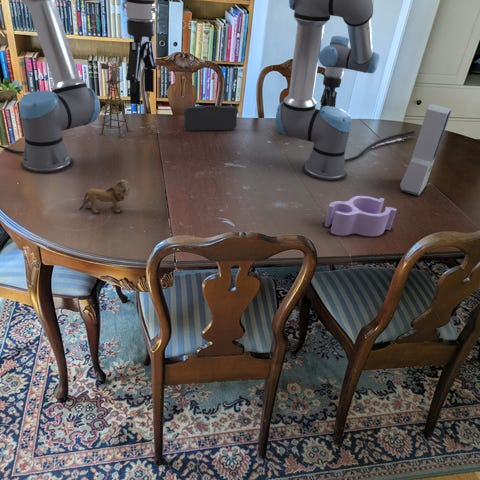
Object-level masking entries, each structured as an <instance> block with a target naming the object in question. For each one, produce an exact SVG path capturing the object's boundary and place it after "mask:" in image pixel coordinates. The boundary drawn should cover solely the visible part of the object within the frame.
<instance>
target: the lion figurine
mask: <svg viewBox="0 0 480 480" xmlns="http://www.w3.org/2000/svg"><path fill="white" fill-rule="evenodd" d="M130 187H131V186H130V181H128V180H125V179H119V180H118V181H116V183H115V184H113V185H112V186H110V187H109V188H108V189H99V188H94V187H93V188H90V189H88V190H86V191H85V193H84V196H83V201H82V205H81V206H80V207H79V209H78V210H79V211H82V210H83V209H84V208H86V209H89V208H91V210H92V212H93V213H95V214H97V213H99V210H98V209H96V208H95V205H96V203H97V200H98V201H100V202H102V203H112V204H111V206H112V208H114V212H116V213H120V211H121V210H120V209H119V202H123V201H124V200H125V199H126V197H127V196H128V195H129V194H130V191H131V189H130ZM89 203H90V205H89Z"/></svg>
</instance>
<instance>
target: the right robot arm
mask: <svg viewBox="0 0 480 480" xmlns="http://www.w3.org/2000/svg"><path fill="white" fill-rule="evenodd" d="M288 6H289V8H290V9H291V10H292V11H294V13H293V18H294V19H295V21H296V22H297V26H296V34H295V42H294V49H293V57H292V65H291V66H292V67H291V74H290V80H289V81H290V82H289V90H288V94H287V95H286V97H284V98H283V101H281V102H280V103H279V104H278V106H277V108H276V113H275V124H276V125H275V126H276V129H277V131H278V133H279V134H281V135H284V136H287V137H288V138H295V139H298V140H302V141H306V142H309V143H313V146H312V151H311V152H310V155H309V157H308V159H307V160H306V161H305V163H304V169H303V170H304V172H305V173H306V174H307V175H309V176H310V177H312V178H315V179H317V180H322V181H339V180H342V179H343V178H344V177H345V176H346V170H347V168H346V162H351V161H353V160H356V159H359V158H360V157H361V156H362V155H363V154H364V153H365V152H367V151H368V150H370V149H371V148H372V147H373V146H374V145H377V144H380V143H382V142H383V141H384V142H385V141H387V140H389V139H393V138H396V137H400V136H403V135H404V136H405V135H408V134H412V133H414V132H415V130H414V131H411V130H410V131H411V132H408V131H406V132H407V133H404V132H400V133H397V134H396V133H395V134H392V135H389V136H386V137H383V138H381V139H378V140H376V141H374V142H372V143H371V144H369V145H368V146H366V147H365V148H364V149H363V150H362V151H361V152H359V154H357V155H354V156H352V157H349V158H345V154H346V149H347V145H348V141H349V140H348V139H349V136H350V132H351V129H352V128H351V127H352V119H353V118H352V115H350V114H349V113H348V111H345V110H343V109H341V108H338V107H336V103H337V95H338V92H337V91H336V89H338V88H341V86H342V80H343V78H342V77H343V76H344V72H345V71H346V70H349V71H354V72H355V71H356V72H359V73H360V72H361V73H364V74H374V73H376V71H377V69H378V66H379V63H380V54H379V53H378V52H375V51H373V41H372V26H371V25H372V23H371V22H372V21H371V19H372V18H373V15H374V3H373V0H288ZM331 16H332V17H339V18H341V19H342V21H343V22H344V23H345V24H346V25H347V26H346V27H347V33H348V36H347V37H346V36H342V35H333V36H331V38H330V42H329V45H326V46H324V47H323V48H322V49H321V47H322V41H323V35H324V29H325V25H327V24H328V23H329V22H330V21H331ZM319 63H320V65H321V66H322V67H325V69H324V76H323V79H322V80H323V81H322V85H323V86H324V88H323V91H322V93H321V98H320V101H319V102H320V108H319V109H318V108H317V101H316V100H315V98H314V91H315V85H316V79H317V73H318V67H319ZM402 133H403V134H402Z"/></svg>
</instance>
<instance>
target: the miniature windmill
mask: <svg viewBox="0 0 480 480" xmlns="http://www.w3.org/2000/svg"><path fill="white" fill-rule="evenodd" d="M109 64H110V65H109ZM109 64H107V63H103V62H100V69H101V70H108V71H109V75H110V78H109V80H107V81H105V83H106V84H109V85H108V88H107V90H108V91H107V94H106V95H107V96H106V99H105V106H104V108H105V110H104V116H103V118H102V120H103V121H102V124H101V127H102V128H101V135H104V132H105V127H109V128H110V129H112V128H115V129H118V135H119V138H121V137H122V132H121V128H123V127H124V126H125V128H126V131H127V132H129V131H130V129H129V126H128V123H129V121H127V119H126V114H125V109H124V107H123V103H122V98H121V95H120V91H119V89H120V88H119V86H118V84H120V83H121V82H122V81H120V80H117V79H118V77H119V76H120V70H121V68H120V66H121V64H120V61H119V59H118V57H117V55H116V54H115V55H112V58H110V61H109ZM116 92H117V96H118V97H117V96H116ZM113 99H114V100H113ZM109 102H110V103H109ZM118 102H119V104H120V108H118ZM113 103H114V105H115V107H113ZM109 106H110V107H109ZM108 107H109V109H108ZM113 110H115V111H116V112H113ZM120 114H122V116H123V120H121V119H120V118H119V115H120ZM113 115H116V119H113ZM107 117H109V119H108V120H106V118H107ZM113 121H115V122H117V126H115V125H112V123H113ZM108 122H109V124H107V123H108ZM120 123H122V125H120Z"/></svg>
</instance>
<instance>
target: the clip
mask: <svg viewBox="0 0 480 480" xmlns="http://www.w3.org/2000/svg"><path fill="white" fill-rule="evenodd" d="M384 201H385V198H383V197H379V198H376V197H373V196H368V195H357V196H352V197H350V198H349V200H347V201H339V200H338V201H337V200H335V201H332V202H330V203H329V205H328V208H327V214H326V218H325V222H324V227H326V228H329V227H330V226H331V227H330V233H331V234H333V235H336V236H348V235H353V234H356V235H360V236H364V237H365V236H366V237H378V236H381V235H382V234H384V232H385V230H387V231H391V229H392V226H393V222H394V219H395V216H396V213H397V210H398V209H397V208H395V207H391V206H385V207H384V211H383V212H382V209H383V206H384Z"/></svg>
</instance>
